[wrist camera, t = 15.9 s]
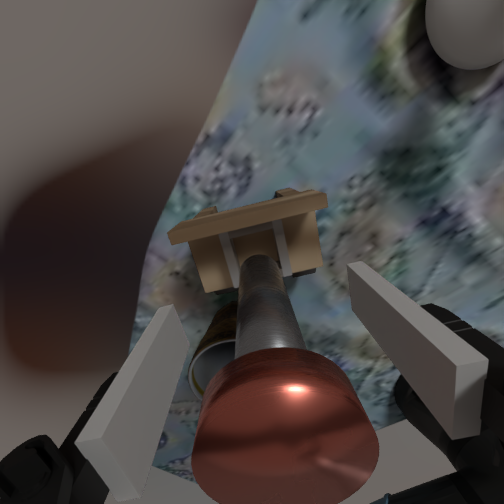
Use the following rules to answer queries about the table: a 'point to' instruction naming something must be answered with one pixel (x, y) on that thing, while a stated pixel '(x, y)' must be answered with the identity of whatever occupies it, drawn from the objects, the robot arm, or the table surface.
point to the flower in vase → (466, 31)
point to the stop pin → (279, 410)
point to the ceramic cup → (214, 349)
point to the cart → (254, 238)
